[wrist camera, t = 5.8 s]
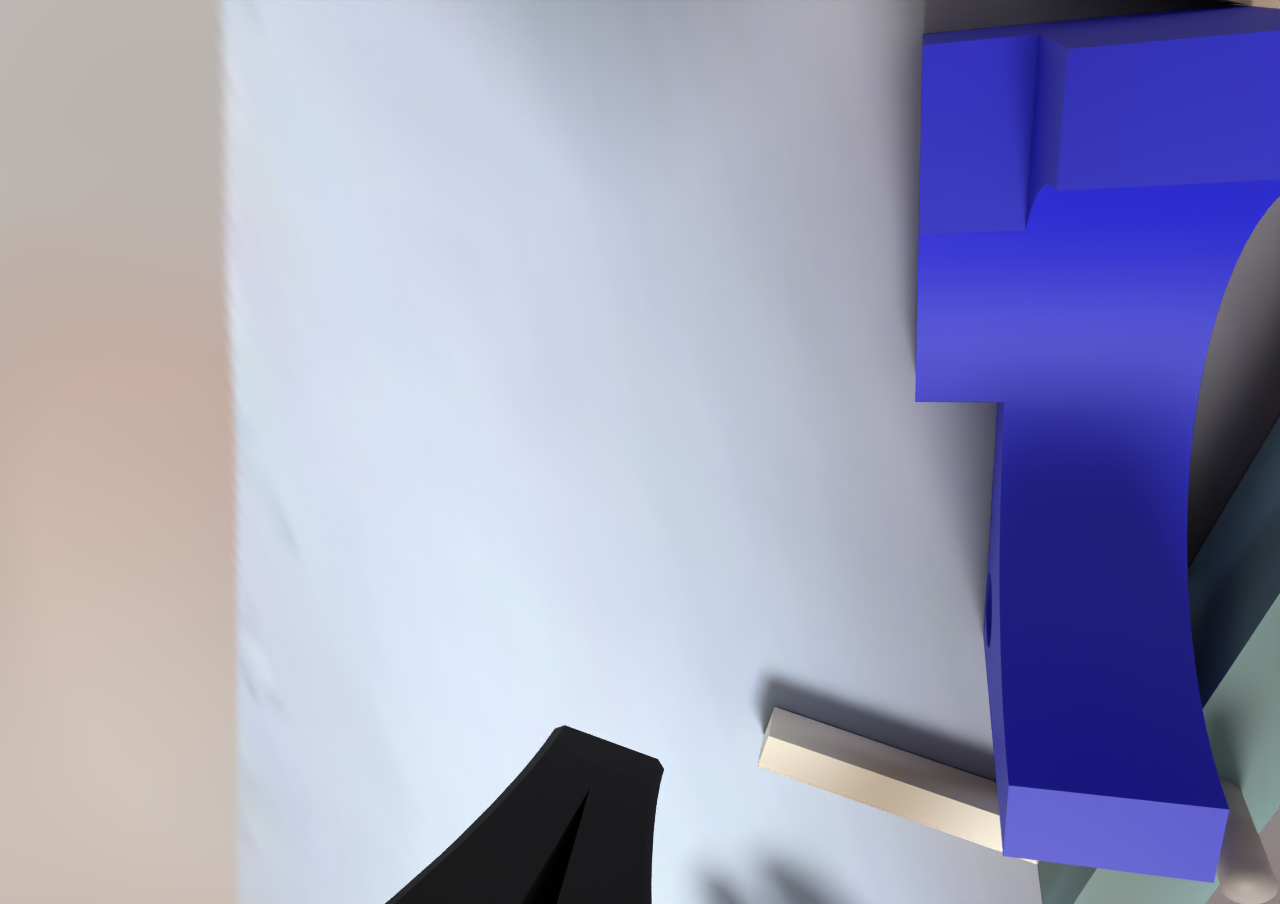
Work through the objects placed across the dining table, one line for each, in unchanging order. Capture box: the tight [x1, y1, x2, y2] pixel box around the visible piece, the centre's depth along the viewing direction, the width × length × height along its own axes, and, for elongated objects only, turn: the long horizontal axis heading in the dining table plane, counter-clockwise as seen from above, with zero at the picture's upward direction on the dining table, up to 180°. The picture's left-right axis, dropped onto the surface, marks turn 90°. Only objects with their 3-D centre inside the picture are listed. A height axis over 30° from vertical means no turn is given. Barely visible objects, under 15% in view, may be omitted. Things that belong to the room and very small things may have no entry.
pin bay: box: [758, 0, 1280, 904], centre depth 16 cm, size 8×18×5 cm, turn 168°
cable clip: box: [915, 4, 1280, 883], centre depth 15 cm, size 12×4×6 cm, turn 6°
